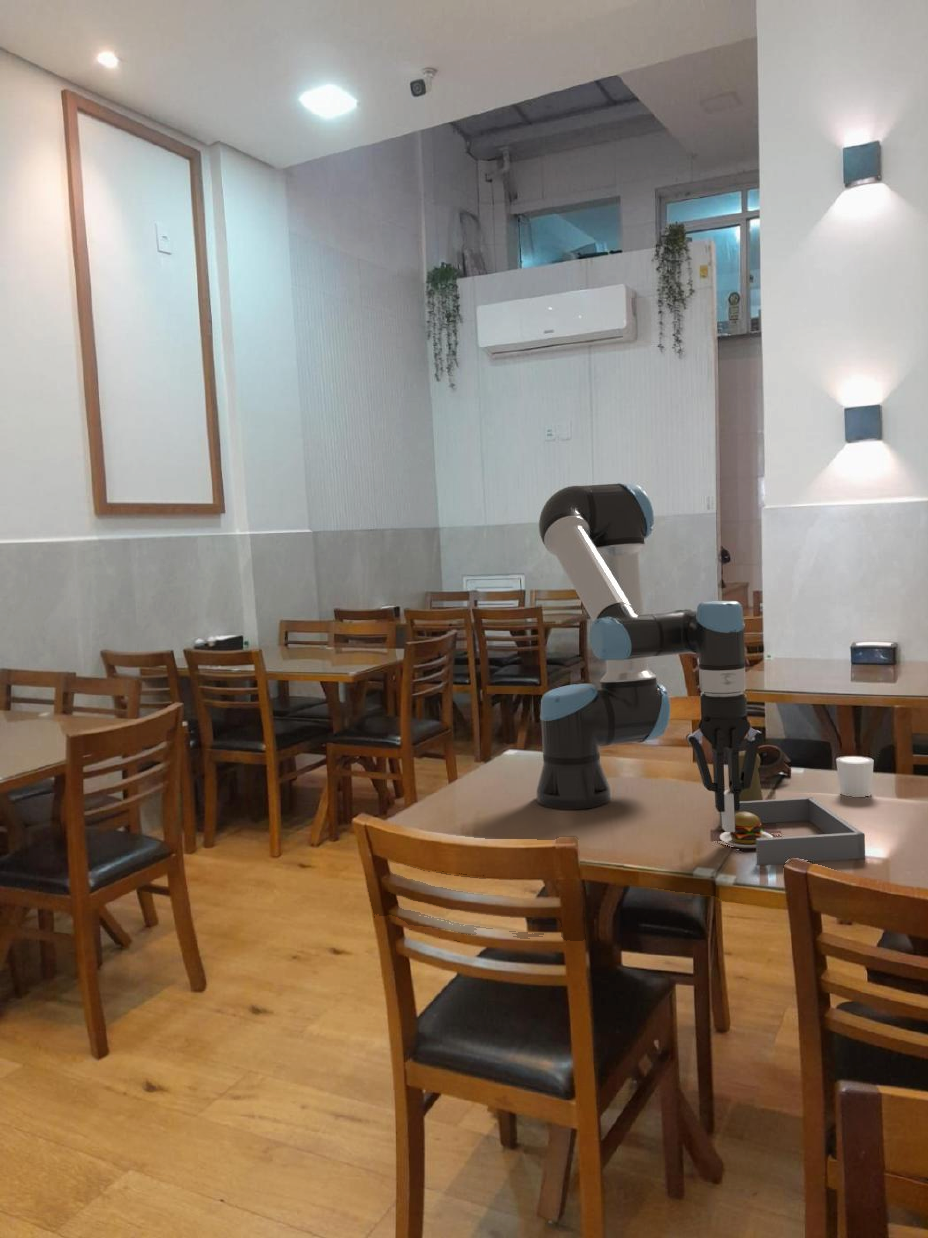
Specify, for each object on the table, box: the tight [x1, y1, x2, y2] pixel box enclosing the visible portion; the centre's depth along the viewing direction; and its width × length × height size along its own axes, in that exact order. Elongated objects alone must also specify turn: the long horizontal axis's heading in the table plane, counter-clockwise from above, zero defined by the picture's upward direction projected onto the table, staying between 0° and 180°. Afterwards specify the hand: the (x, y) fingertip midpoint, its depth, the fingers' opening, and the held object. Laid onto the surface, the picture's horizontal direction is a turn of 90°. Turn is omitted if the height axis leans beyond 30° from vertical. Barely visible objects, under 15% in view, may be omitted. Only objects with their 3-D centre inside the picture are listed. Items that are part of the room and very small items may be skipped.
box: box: [718, 796, 866, 866], centre depth 158 cm, size 22×17×4 cm
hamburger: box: [709, 812, 783, 854], centre depth 159 cm, size 12×12×6 cm
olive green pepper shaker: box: [739, 750, 764, 801], centre depth 178 cm, size 6×6×11 cm
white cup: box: [835, 755, 875, 798], centre depth 183 cm, size 7×7×7 cm
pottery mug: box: [757, 744, 792, 780], centre depth 200 cm, size 12×10×8 cm
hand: (728, 829), depth 158 cm, fingers closed
